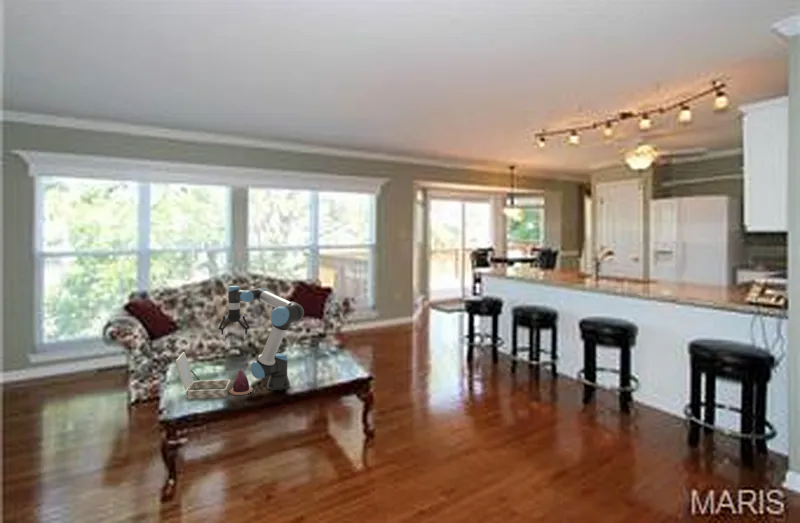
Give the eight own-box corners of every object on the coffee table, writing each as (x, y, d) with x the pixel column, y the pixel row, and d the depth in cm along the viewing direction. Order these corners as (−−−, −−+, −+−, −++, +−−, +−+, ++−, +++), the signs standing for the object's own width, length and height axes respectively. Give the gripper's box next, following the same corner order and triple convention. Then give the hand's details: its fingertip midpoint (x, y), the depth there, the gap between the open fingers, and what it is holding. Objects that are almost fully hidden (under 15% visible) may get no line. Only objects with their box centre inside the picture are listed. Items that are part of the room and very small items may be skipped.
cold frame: (230, 386, 339) (230, 368, 338) (226, 397, 319) (226, 377, 318) (190, 388, 334) (190, 369, 333) (183, 398, 314) (183, 379, 313)
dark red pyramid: (233, 392, 333) (230, 370, 335) (249, 389, 337) (246, 367, 339) (233, 394, 324) (230, 371, 325) (250, 390, 327) (246, 367, 329)
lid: (184, 351, 331) (183, 352, 331) (177, 360, 312) (175, 360, 312) (193, 379, 334) (191, 380, 334) (186, 389, 314) (185, 390, 314)
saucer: (253, 387, 339) (253, 385, 339) (251, 394, 325) (251, 393, 325) (230, 387, 337) (230, 386, 336) (227, 395, 322) (227, 394, 322)
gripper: (253, 307, 346) (253, 337, 348) (215, 307, 341) (216, 338, 343) (252, 309, 339) (252, 339, 340) (214, 309, 334) (214, 340, 336)
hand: (234, 339), depth 342 cm, fingers open, 13 cm apart
